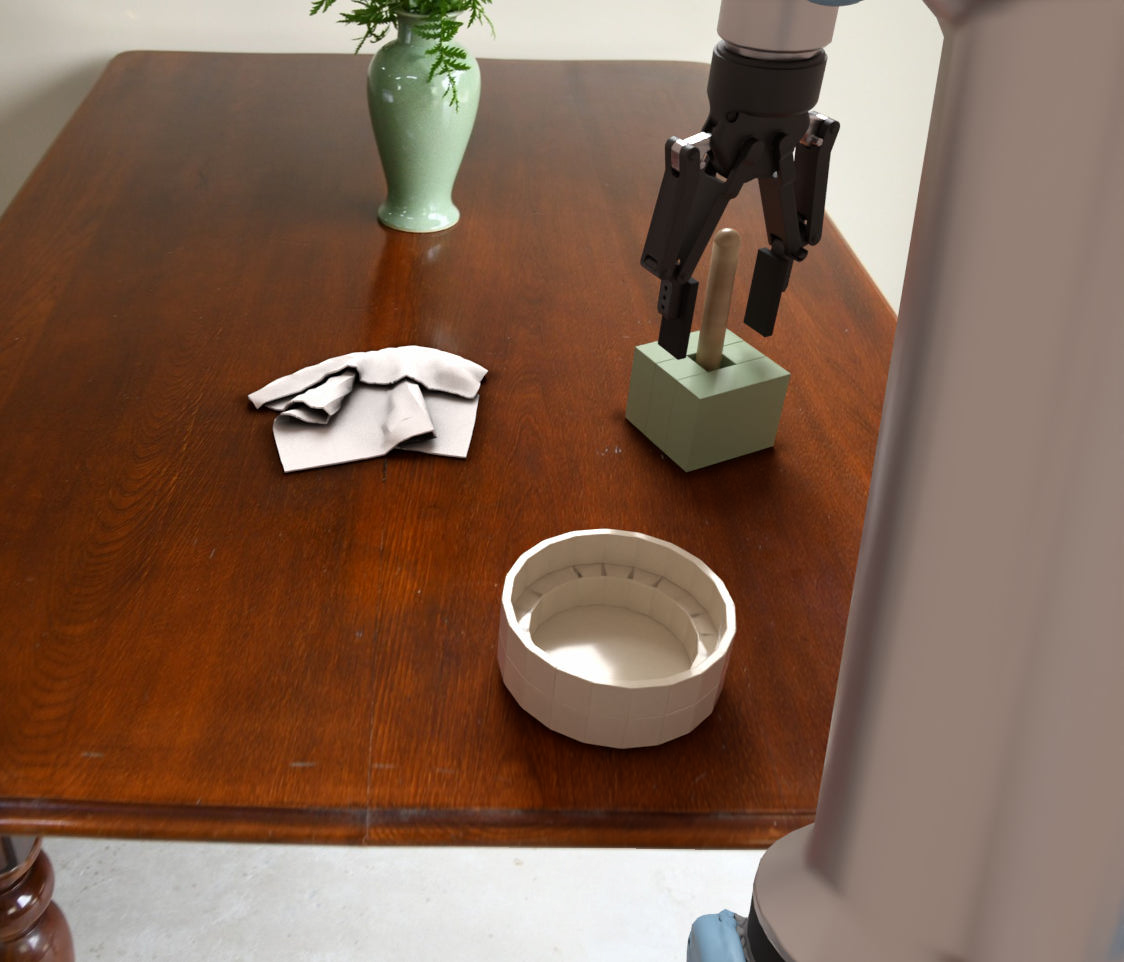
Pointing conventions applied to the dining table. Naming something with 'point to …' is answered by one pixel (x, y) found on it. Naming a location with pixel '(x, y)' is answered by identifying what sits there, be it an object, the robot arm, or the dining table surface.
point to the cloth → (374, 406)
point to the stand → (706, 402)
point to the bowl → (615, 637)
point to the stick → (718, 298)
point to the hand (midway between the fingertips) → (715, 339)
